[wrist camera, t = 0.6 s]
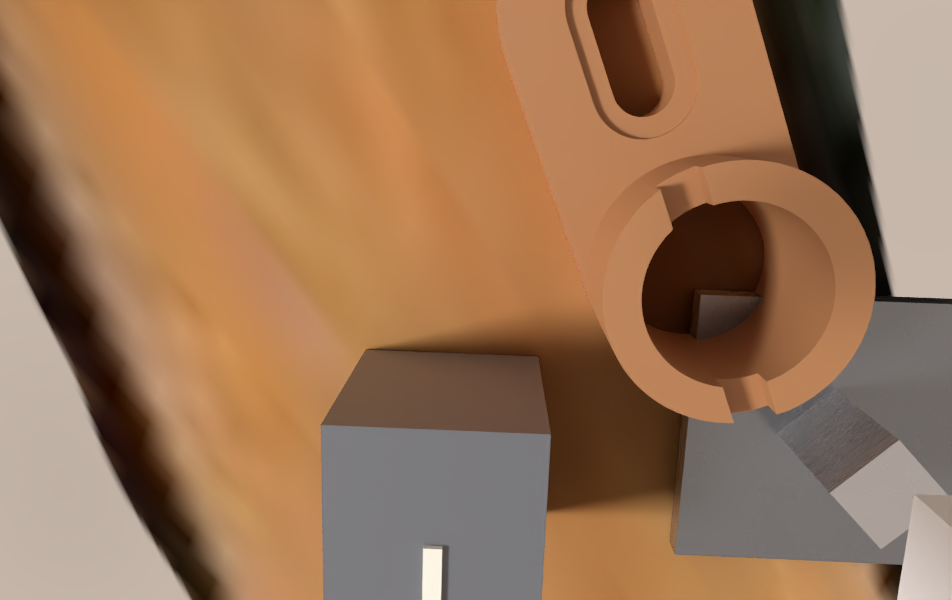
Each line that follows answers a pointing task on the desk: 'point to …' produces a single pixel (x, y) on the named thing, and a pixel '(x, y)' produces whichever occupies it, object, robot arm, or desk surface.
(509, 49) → the bracket
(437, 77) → the desk surface
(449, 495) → the squarish grey box
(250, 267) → the desk surface
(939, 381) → the shaft base
